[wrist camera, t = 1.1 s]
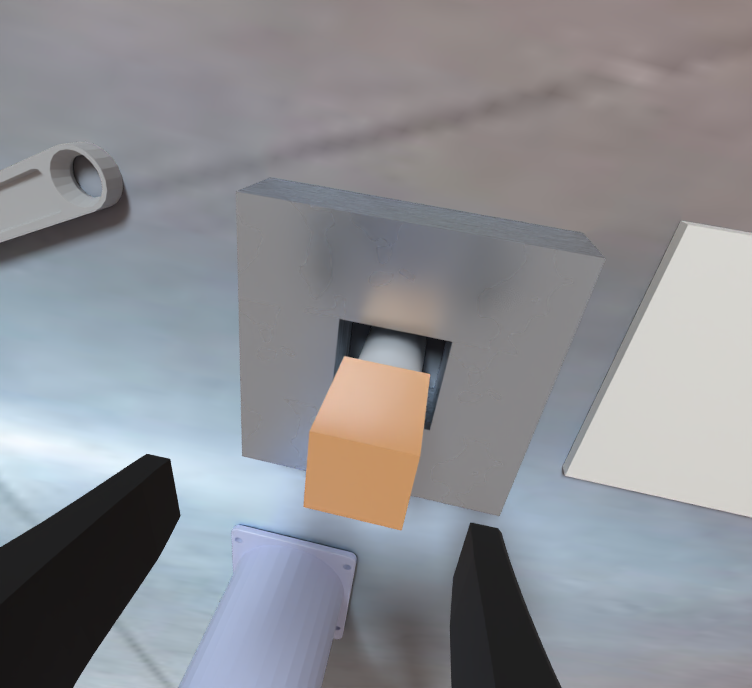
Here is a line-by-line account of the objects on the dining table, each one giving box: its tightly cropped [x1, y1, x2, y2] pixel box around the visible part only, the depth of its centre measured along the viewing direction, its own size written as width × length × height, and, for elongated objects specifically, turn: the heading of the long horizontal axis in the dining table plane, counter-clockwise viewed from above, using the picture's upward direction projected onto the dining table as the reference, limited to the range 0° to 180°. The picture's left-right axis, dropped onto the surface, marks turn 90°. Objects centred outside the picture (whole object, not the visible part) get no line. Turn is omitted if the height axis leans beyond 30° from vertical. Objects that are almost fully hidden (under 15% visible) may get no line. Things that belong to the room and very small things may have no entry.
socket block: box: [236, 178, 606, 516], centre depth 18 cm, size 12×12×3 cm
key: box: [304, 326, 430, 530], centre depth 16 cm, size 3×3×8 cm
